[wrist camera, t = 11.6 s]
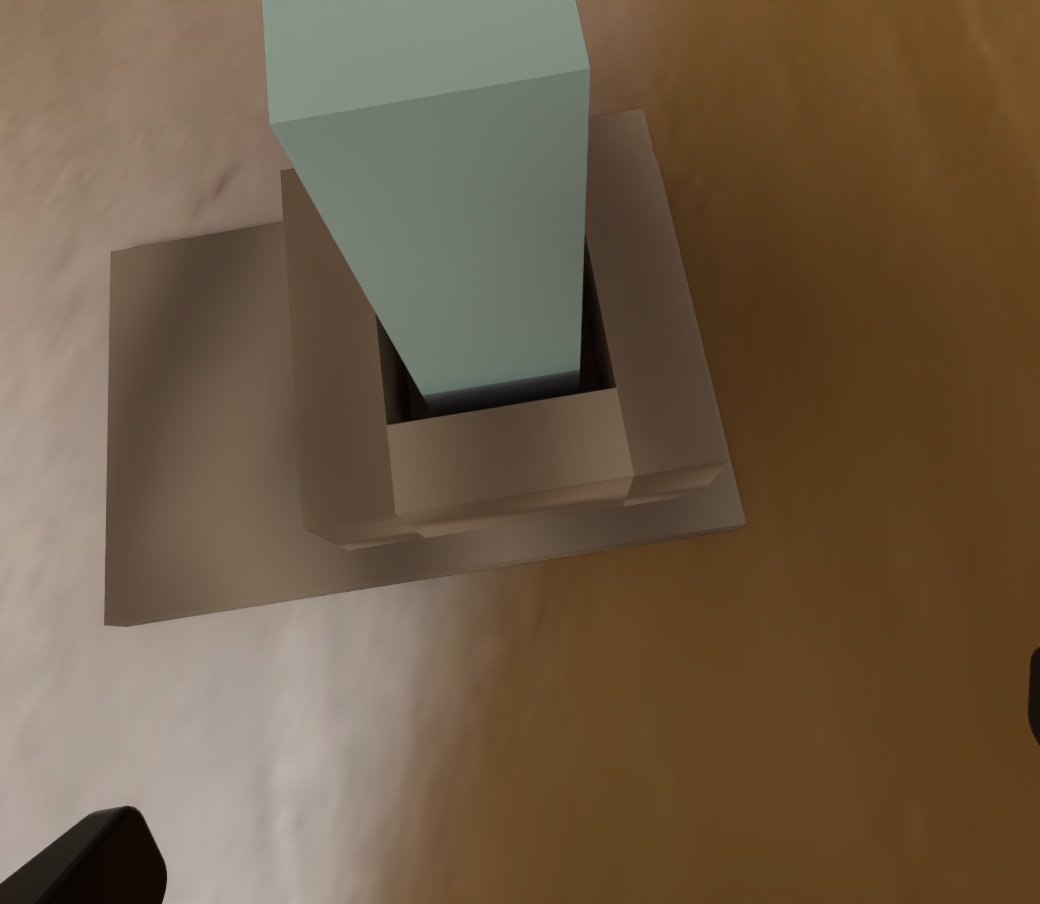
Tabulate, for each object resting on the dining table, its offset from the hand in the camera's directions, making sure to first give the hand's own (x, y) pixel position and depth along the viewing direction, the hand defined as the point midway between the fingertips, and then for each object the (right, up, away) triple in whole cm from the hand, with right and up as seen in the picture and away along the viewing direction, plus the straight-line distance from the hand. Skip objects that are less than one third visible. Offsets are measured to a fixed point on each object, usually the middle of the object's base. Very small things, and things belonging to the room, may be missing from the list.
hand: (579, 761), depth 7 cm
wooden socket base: (-4, +5, +15) cm, 17 cm away
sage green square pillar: (-1, +6, +14) cm, 15 cm away
